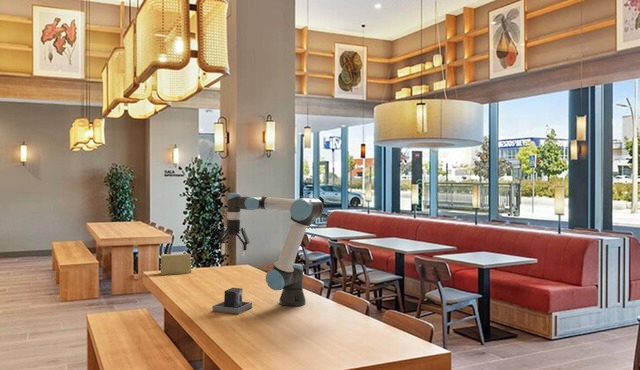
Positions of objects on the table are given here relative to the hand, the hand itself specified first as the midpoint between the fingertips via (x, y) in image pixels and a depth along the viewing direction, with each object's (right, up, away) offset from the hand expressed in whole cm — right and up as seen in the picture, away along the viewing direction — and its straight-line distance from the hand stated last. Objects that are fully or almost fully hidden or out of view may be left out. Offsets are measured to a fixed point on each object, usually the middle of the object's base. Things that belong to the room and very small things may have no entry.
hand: (233, 255), depth 305 cm
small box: (+4, -26, -22) cm, 34 cm away
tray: (+3, -27, -22) cm, 35 cm away
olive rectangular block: (-58, -26, +87) cm, 107 cm away
